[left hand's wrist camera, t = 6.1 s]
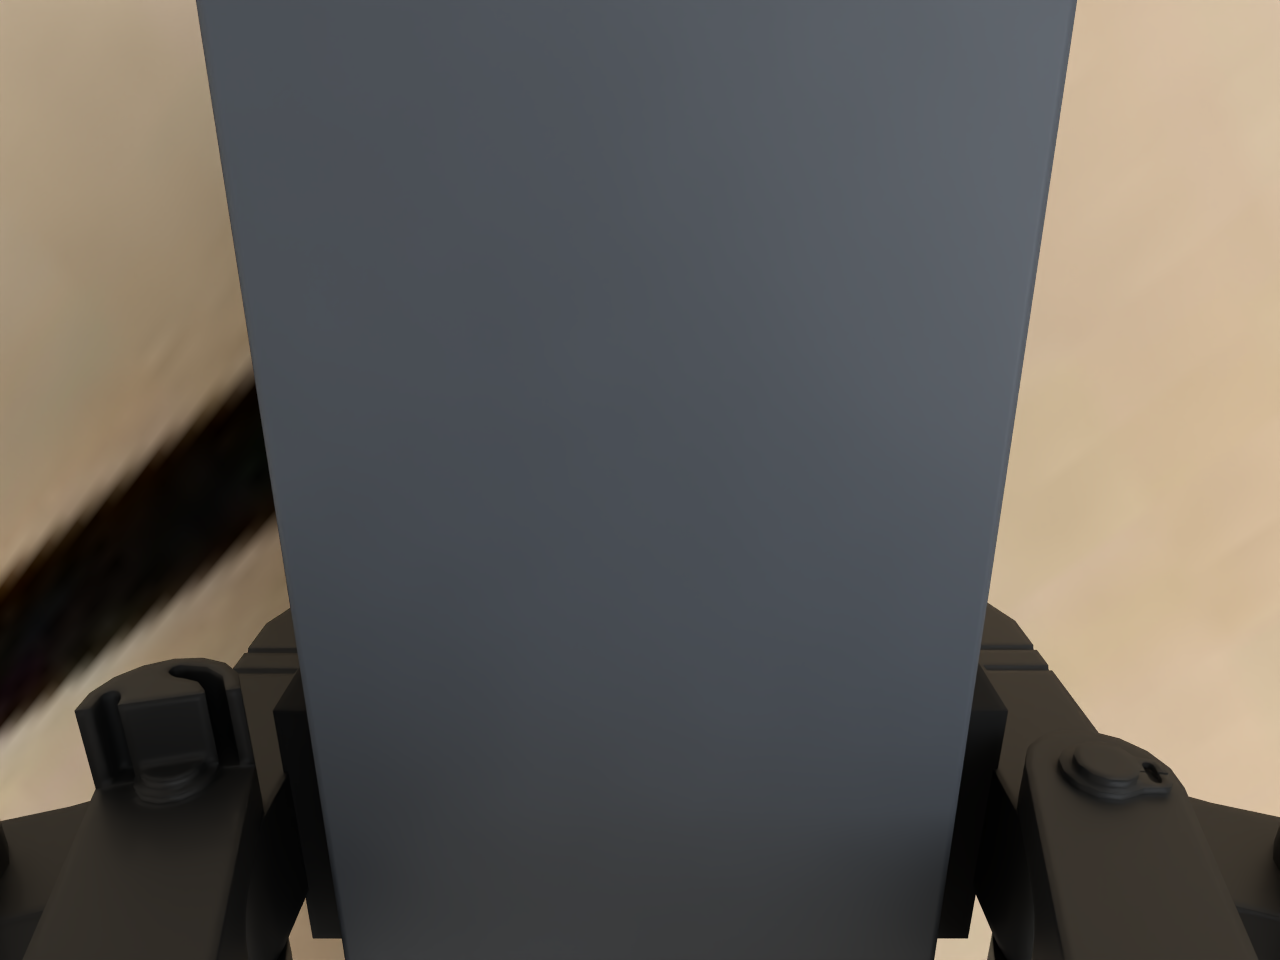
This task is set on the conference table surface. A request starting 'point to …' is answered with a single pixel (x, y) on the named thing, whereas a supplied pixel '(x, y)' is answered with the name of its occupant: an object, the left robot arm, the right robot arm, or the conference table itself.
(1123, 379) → the conference table surface
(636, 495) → the beam
